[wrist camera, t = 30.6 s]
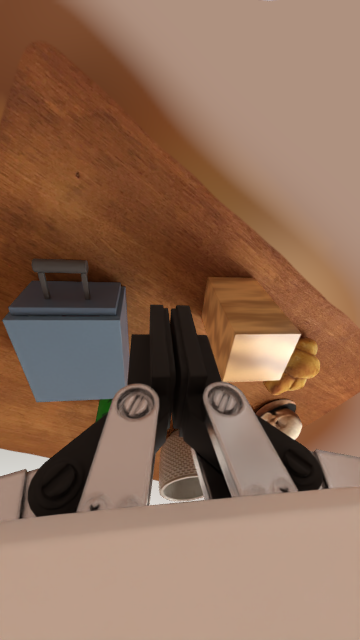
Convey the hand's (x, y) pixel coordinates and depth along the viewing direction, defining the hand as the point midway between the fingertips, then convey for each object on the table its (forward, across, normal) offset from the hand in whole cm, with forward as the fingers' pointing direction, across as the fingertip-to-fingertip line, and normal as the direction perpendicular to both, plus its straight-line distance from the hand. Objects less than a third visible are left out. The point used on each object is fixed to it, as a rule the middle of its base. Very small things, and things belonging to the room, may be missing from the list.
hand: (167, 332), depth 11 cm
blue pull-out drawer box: (+25, +11, +15) cm, 32 cm away
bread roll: (+26, -29, +27) cm, 48 cm away
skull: (+26, -34, +48) cm, 64 cm away
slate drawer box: (+26, +11, +20) cm, 35 cm away
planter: (+26, -10, +56) cm, 63 cm away
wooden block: (+26, -13, +13) cm, 32 cm away
